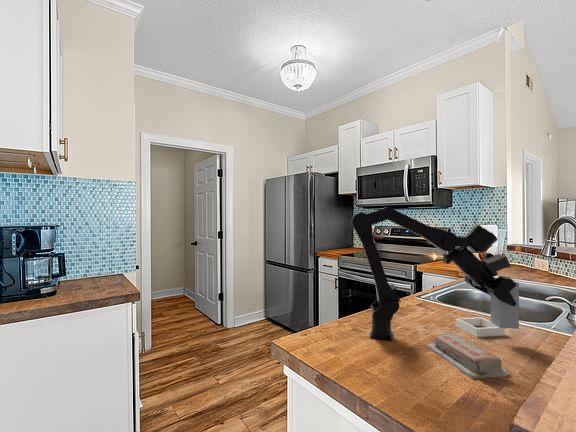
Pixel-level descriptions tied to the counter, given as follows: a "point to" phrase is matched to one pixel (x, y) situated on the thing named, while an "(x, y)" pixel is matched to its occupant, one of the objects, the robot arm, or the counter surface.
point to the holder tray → (488, 329)
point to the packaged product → (467, 356)
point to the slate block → (506, 311)
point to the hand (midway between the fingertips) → (509, 302)
